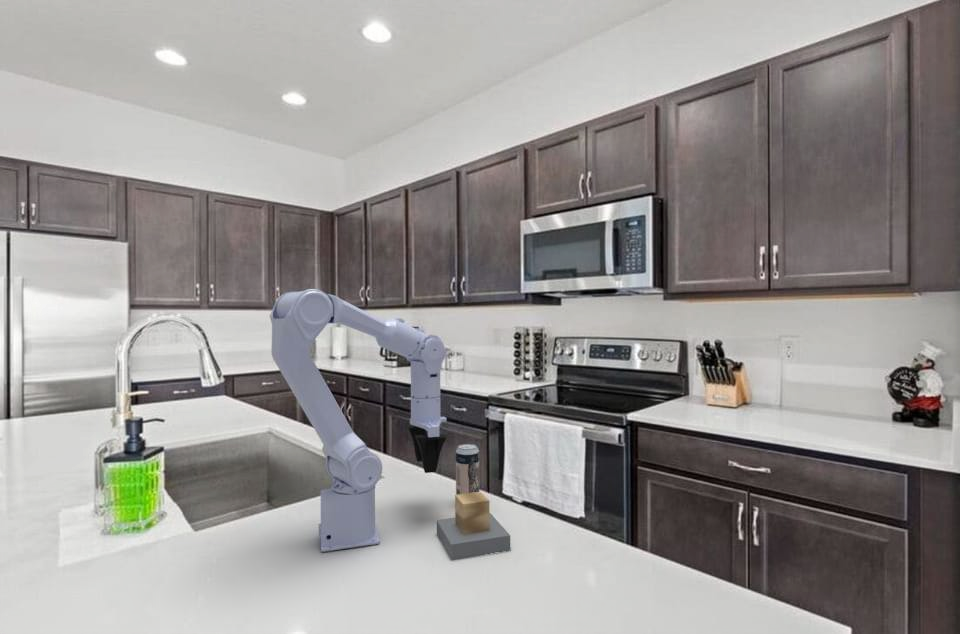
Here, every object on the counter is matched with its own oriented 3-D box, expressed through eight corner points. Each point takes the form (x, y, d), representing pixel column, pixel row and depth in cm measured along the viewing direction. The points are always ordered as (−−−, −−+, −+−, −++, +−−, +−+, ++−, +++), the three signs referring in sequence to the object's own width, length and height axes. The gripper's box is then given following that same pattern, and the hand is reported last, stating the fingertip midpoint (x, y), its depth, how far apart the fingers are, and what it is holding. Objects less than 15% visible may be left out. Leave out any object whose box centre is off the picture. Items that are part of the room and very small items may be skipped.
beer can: (476, 510, 97) (476, 450, 97) (453, 509, 98) (453, 448, 98) (481, 501, 102) (481, 444, 102) (459, 500, 103) (458, 443, 103)
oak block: (463, 534, 80) (463, 504, 80) (455, 523, 85) (455, 494, 85) (489, 530, 82) (489, 500, 82) (480, 519, 86) (480, 491, 86)
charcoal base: (451, 563, 77) (451, 544, 77) (436, 536, 86) (436, 520, 86) (510, 553, 80) (510, 535, 80) (490, 529, 90) (490, 512, 90)
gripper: (455, 400, 90) (455, 475, 89) (437, 390, 103) (437, 454, 103) (417, 403, 87) (417, 479, 87) (404, 391, 101) (404, 457, 101)
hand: (426, 466), depth 95 cm, fingers open, 7 cm apart
